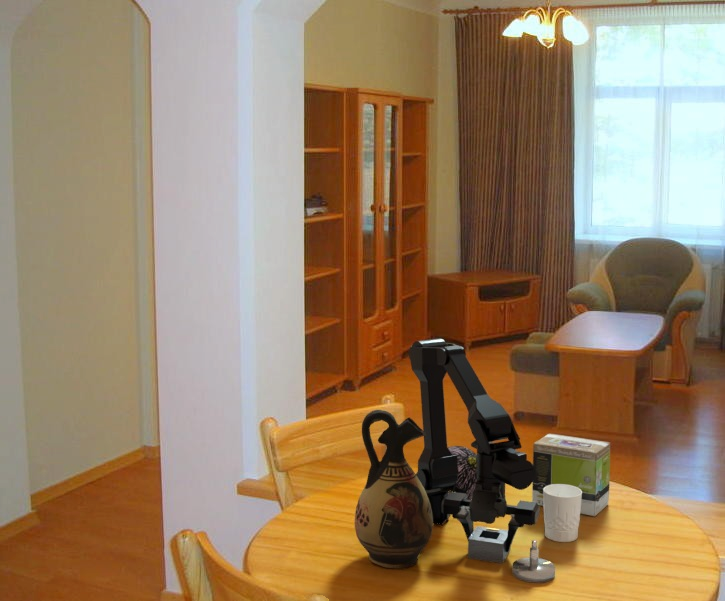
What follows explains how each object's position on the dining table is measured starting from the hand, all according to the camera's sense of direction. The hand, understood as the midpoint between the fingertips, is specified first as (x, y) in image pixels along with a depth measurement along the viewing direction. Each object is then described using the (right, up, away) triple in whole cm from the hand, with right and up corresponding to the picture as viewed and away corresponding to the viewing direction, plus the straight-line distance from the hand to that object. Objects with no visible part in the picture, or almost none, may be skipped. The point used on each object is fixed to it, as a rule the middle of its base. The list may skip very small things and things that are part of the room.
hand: (489, 548), depth 195 cm
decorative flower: (-1, +4, +33) cm, 34 cm away
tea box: (+22, +3, +27) cm, 35 cm away
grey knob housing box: (0, -1, 0) cm, 1 cm away
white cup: (+16, 0, +9) cm, 18 cm away
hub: (+7, -2, -9) cm, 12 cm away
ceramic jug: (-20, -2, -2) cm, 20 cm away
